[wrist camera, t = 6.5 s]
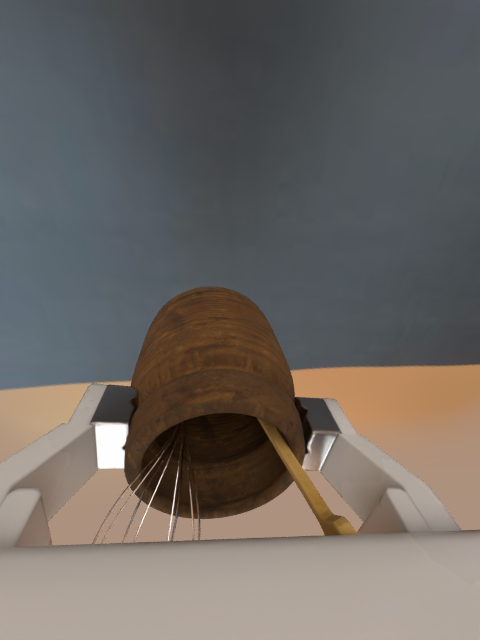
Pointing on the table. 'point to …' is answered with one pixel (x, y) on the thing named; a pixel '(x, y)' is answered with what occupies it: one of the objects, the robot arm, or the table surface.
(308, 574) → the robot arm
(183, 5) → the table surface
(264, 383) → the utensil holder
